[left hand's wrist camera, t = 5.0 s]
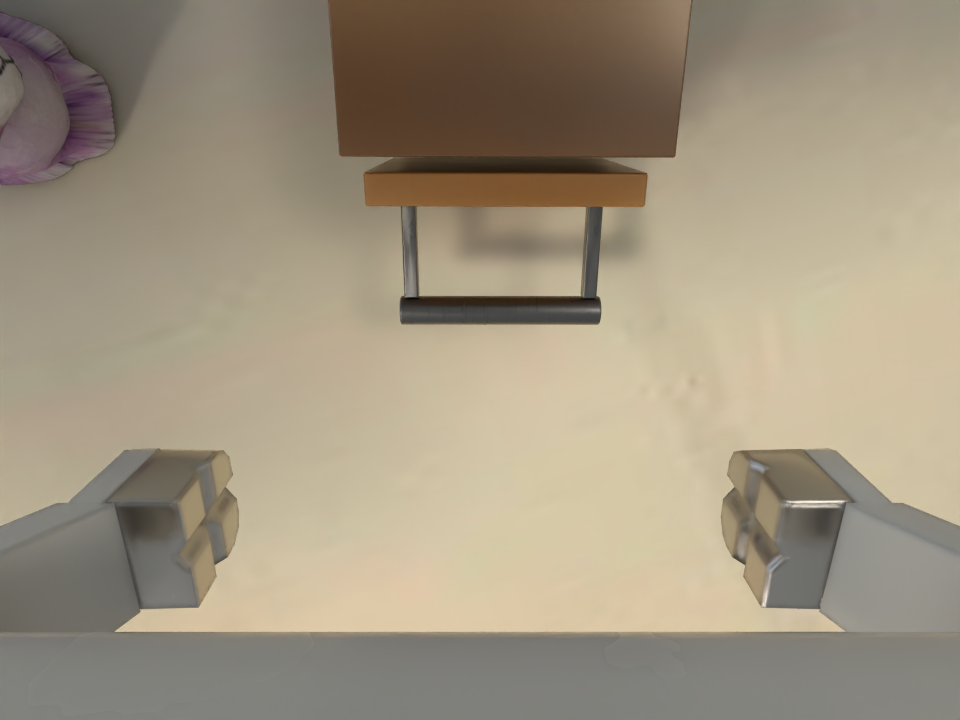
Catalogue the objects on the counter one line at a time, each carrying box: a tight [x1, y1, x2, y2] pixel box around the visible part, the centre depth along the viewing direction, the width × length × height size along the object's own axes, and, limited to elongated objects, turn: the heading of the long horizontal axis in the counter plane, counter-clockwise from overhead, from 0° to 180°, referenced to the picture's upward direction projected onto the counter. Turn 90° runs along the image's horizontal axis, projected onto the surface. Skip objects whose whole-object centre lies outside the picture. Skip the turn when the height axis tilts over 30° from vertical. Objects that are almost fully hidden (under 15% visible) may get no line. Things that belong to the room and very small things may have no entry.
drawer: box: [364, 158, 648, 325], centre depth 25 cm, size 24×10×8 cm, turn 0°
